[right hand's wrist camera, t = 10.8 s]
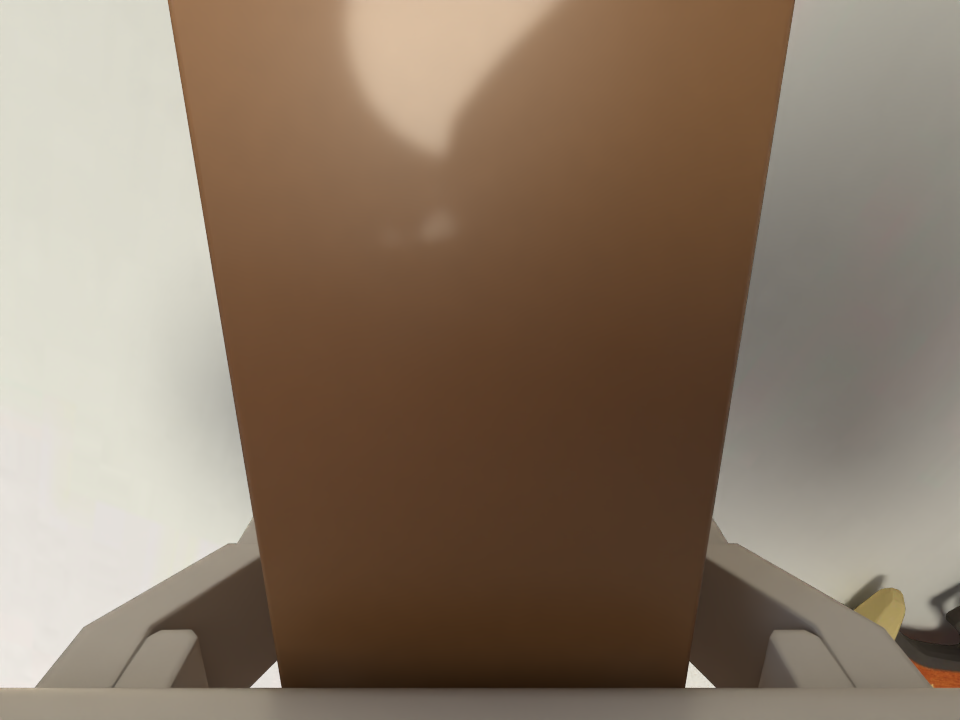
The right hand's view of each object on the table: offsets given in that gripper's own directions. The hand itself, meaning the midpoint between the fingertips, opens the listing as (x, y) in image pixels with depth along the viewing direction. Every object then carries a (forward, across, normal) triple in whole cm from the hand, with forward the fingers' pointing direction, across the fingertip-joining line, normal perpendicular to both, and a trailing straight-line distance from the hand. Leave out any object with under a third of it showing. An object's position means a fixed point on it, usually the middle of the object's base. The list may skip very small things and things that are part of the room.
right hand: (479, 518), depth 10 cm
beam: (+3, 0, -21) cm, 21 cm away
